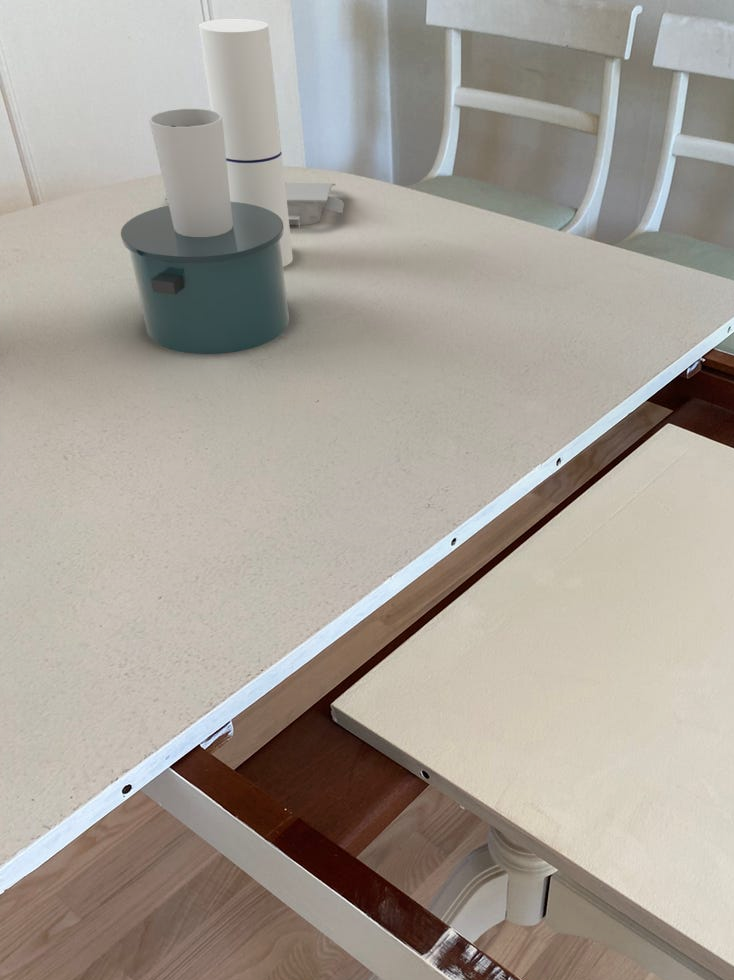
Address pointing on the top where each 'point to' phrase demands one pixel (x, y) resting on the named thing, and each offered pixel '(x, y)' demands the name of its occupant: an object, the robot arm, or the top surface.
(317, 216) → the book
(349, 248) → the top surface
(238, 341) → the pot
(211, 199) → the white cup
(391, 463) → the top surface
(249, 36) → the cylindrical container
